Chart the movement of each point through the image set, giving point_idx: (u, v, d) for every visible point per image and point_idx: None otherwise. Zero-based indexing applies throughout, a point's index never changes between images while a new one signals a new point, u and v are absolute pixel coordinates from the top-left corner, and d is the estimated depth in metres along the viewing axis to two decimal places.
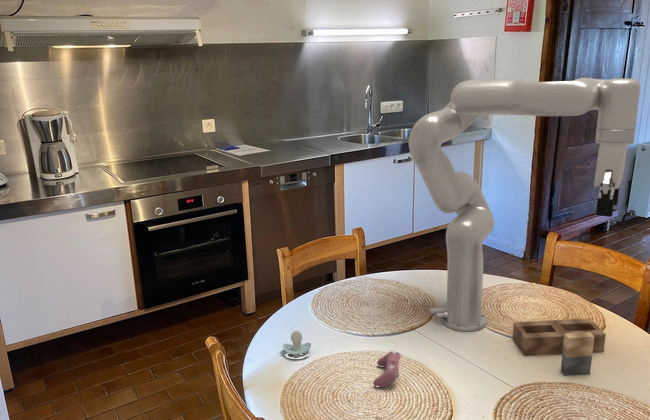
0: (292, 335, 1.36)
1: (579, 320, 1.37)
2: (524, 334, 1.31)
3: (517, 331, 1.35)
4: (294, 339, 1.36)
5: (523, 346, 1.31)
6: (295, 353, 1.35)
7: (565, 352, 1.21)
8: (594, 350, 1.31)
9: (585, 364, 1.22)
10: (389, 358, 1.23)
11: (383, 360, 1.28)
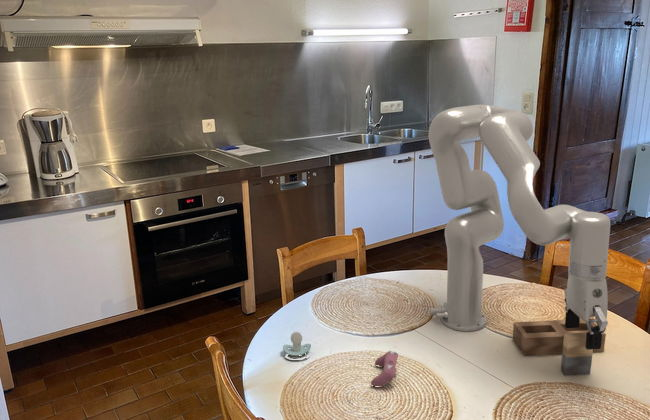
0: (292, 336, 1.35)
1: None
2: (524, 334, 1.31)
3: (517, 331, 1.35)
4: (294, 340, 1.35)
5: (523, 346, 1.31)
6: (295, 354, 1.34)
7: (565, 352, 1.21)
8: (594, 350, 1.31)
9: (585, 364, 1.22)
10: (387, 358, 1.23)
11: (381, 360, 1.28)
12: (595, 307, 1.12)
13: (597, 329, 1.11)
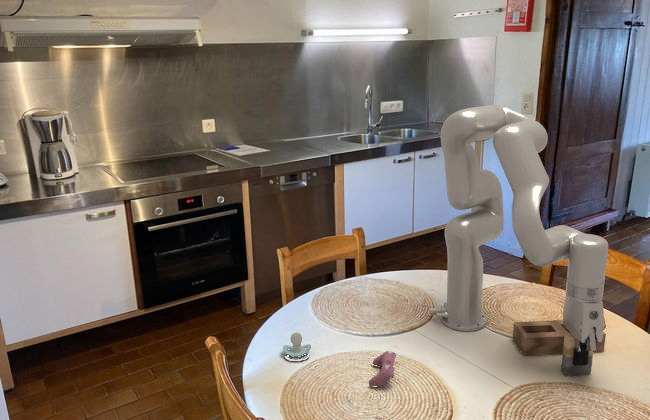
0: (292, 337, 1.35)
1: None
2: (524, 334, 1.31)
3: (517, 331, 1.35)
4: (294, 341, 1.35)
5: (523, 346, 1.31)
6: (295, 355, 1.34)
7: (565, 352, 1.21)
8: None
9: (585, 365, 1.22)
10: (384, 358, 1.23)
11: (379, 360, 1.28)
12: (589, 331, 1.15)
13: (584, 347, 1.17)
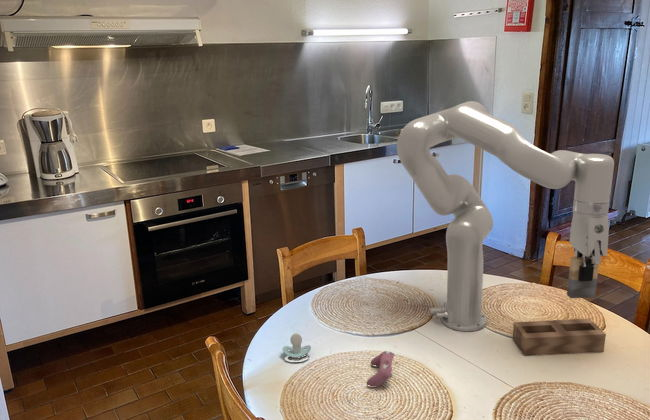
0: (292, 338, 1.34)
1: (579, 320, 1.37)
2: (524, 334, 1.31)
3: (517, 331, 1.35)
4: (294, 342, 1.34)
5: (523, 346, 1.31)
6: (295, 356, 1.33)
7: (571, 275, 1.28)
8: (594, 350, 1.31)
9: (590, 287, 1.28)
10: (382, 358, 1.23)
11: (377, 360, 1.28)
12: (595, 245, 1.21)
13: (589, 261, 1.23)
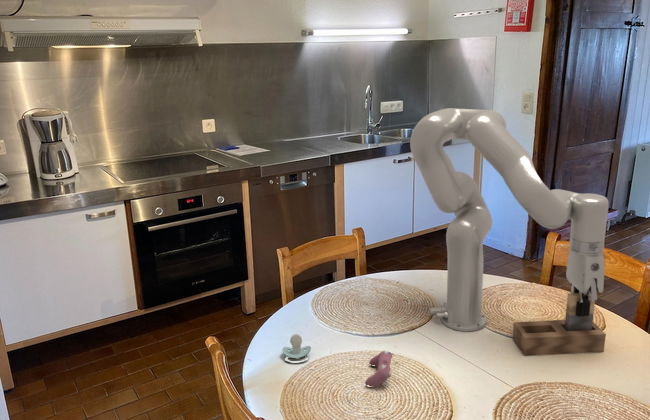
0: (292, 338, 1.34)
1: None
2: (524, 334, 1.31)
3: (517, 331, 1.35)
4: (294, 342, 1.34)
5: (523, 346, 1.31)
6: (295, 357, 1.33)
7: (568, 310, 1.32)
8: (594, 350, 1.31)
9: (587, 322, 1.32)
10: (381, 358, 1.23)
11: (375, 360, 1.28)
12: (591, 283, 1.25)
13: (586, 298, 1.27)
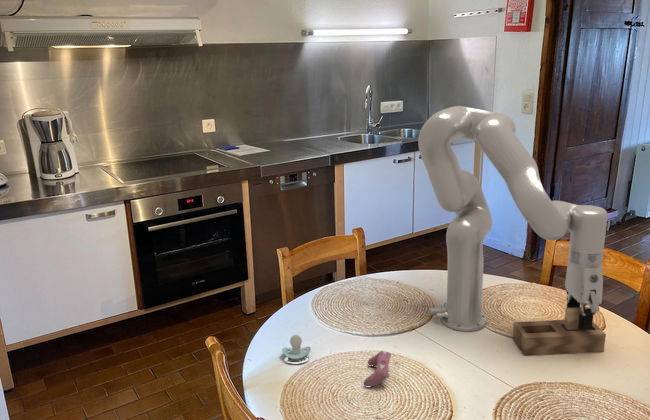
0: (291, 339, 1.34)
1: None
2: (524, 334, 1.31)
3: (517, 331, 1.35)
4: (293, 343, 1.34)
5: (523, 346, 1.31)
6: (295, 357, 1.33)
7: (566, 325, 1.33)
8: (594, 350, 1.31)
9: None
10: (379, 358, 1.23)
11: (374, 360, 1.28)
12: (591, 293, 1.25)
13: (589, 311, 1.26)
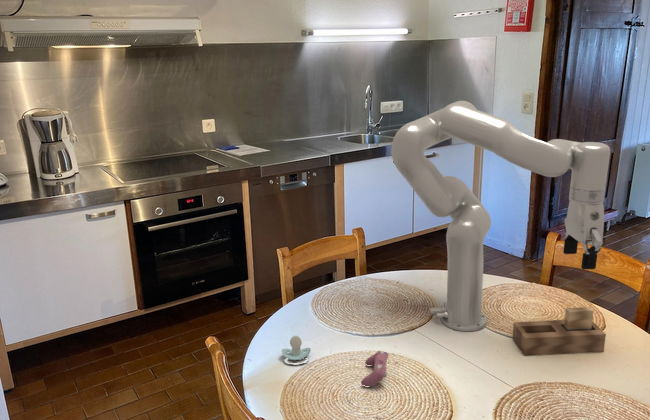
0: (291, 340, 1.33)
1: None
2: (524, 334, 1.31)
3: (517, 331, 1.35)
4: (293, 344, 1.33)
5: (523, 346, 1.31)
6: (295, 358, 1.32)
7: (566, 325, 1.33)
8: (594, 350, 1.31)
9: None
10: (377, 357, 1.23)
11: (371, 360, 1.28)
12: (592, 229, 1.22)
13: (593, 249, 1.21)
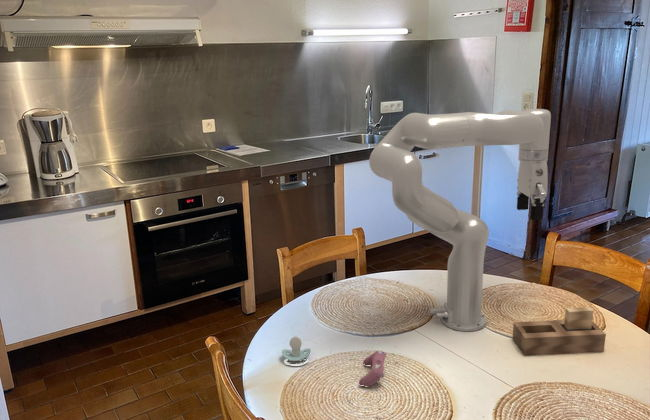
0: (291, 341, 1.33)
1: None
2: (524, 334, 1.31)
3: (517, 331, 1.35)
4: (293, 345, 1.33)
5: (523, 346, 1.31)
6: (295, 359, 1.32)
7: (566, 325, 1.33)
8: (594, 350, 1.31)
9: None
10: (375, 357, 1.23)
11: (369, 360, 1.28)
12: (537, 184, 1.41)
13: (538, 200, 1.40)
